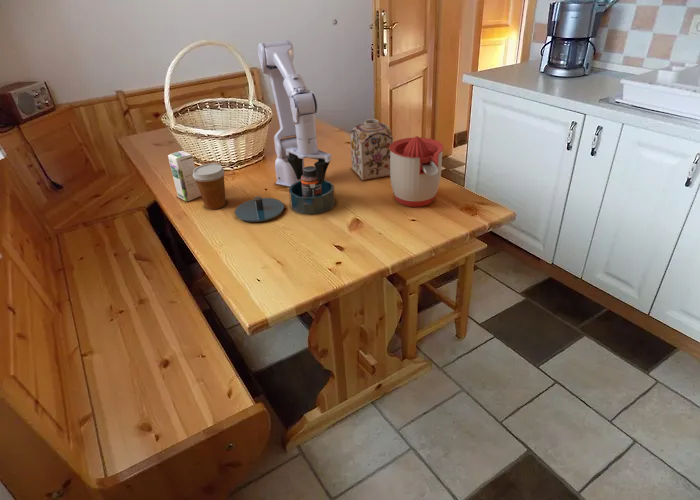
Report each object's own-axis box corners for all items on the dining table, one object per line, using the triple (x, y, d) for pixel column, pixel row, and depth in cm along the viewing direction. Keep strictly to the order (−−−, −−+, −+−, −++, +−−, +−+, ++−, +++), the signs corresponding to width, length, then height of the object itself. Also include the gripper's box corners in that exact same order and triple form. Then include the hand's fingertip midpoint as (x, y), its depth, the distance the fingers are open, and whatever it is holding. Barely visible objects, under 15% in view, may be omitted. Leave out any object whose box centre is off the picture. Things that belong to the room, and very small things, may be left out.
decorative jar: (381, 163, 171) (381, 113, 161) (394, 175, 161) (394, 123, 152) (350, 168, 168) (348, 118, 158) (361, 181, 158) (359, 128, 149)
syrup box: (177, 197, 154) (166, 155, 146) (193, 191, 158) (183, 149, 150) (186, 202, 151) (175, 159, 143) (202, 195, 154) (192, 153, 147)
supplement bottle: (319, 207, 143) (316, 173, 137) (300, 206, 144) (297, 172, 138) (324, 198, 148) (321, 164, 142) (306, 197, 149) (302, 164, 143)
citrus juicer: (407, 218, 136) (409, 152, 125) (380, 194, 149) (379, 133, 139) (453, 206, 141) (459, 141, 130) (423, 184, 154) (426, 124, 144)
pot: (285, 219, 139) (283, 202, 136) (296, 190, 155) (294, 175, 152) (331, 218, 138) (330, 202, 135) (337, 190, 154) (336, 174, 151)
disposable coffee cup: (193, 209, 146) (184, 173, 140) (212, 196, 154) (204, 161, 147) (219, 213, 143) (211, 177, 137) (236, 200, 151) (230, 164, 144)
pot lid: (229, 224, 138) (227, 209, 135) (242, 201, 150) (240, 187, 147) (279, 223, 136) (277, 209, 134) (288, 200, 149) (286, 187, 146)
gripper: (277, 137, 135) (283, 181, 142) (320, 144, 129) (324, 190, 136) (291, 130, 140) (296, 172, 147) (333, 136, 134) (336, 180, 141)
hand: (310, 180), depth 142 cm, fingers open, 7 cm apart
